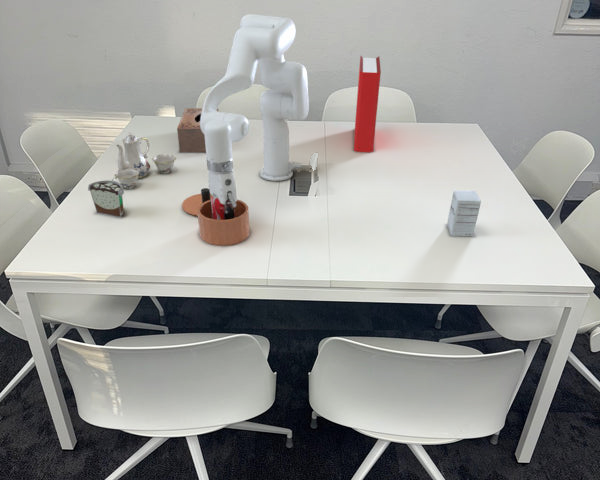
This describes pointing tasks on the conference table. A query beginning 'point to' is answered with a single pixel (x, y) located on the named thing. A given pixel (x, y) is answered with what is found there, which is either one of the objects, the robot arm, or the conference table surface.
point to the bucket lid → (196, 201)
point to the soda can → (218, 208)
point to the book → (367, 104)
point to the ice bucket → (223, 225)
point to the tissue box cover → (191, 131)
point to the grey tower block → (463, 213)
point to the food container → (107, 197)
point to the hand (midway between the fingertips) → (223, 217)
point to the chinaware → (138, 162)
